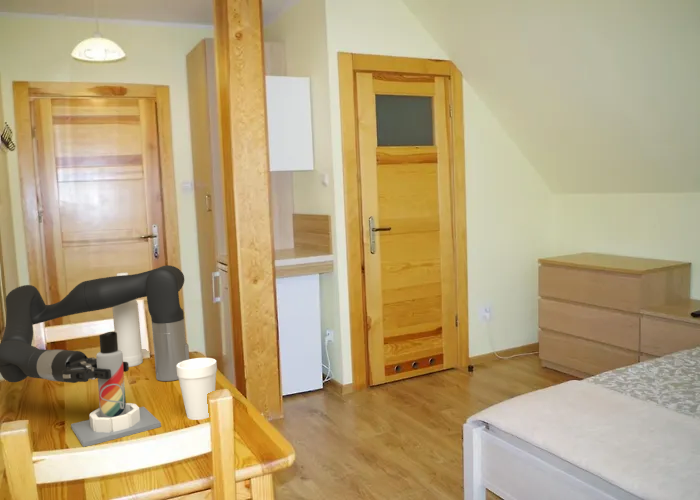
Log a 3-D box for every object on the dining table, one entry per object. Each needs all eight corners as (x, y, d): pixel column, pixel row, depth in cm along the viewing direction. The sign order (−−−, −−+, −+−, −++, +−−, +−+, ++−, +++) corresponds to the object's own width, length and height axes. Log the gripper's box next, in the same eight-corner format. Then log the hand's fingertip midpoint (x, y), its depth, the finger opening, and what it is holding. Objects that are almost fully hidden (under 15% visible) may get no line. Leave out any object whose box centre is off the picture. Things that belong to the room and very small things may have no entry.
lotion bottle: (117, 420, 138) (111, 335, 136) (95, 419, 139) (89, 334, 137) (131, 411, 143) (126, 329, 141) (109, 410, 144) (104, 329, 143)
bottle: (116, 363, 197) (108, 273, 194) (141, 359, 201) (133, 270, 198) (118, 369, 190) (110, 275, 187) (144, 364, 194) (136, 273, 191)
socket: (143, 410, 152) (142, 395, 151) (161, 426, 140) (159, 410, 140) (71, 428, 142) (69, 411, 142) (83, 447, 131) (81, 429, 130)
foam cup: (184, 409, 151) (181, 359, 150) (222, 406, 152) (218, 356, 151) (177, 423, 142) (173, 370, 140) (217, 420, 143) (213, 367, 141)
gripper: (86, 371, 152) (140, 376, 146) (39, 390, 139) (97, 396, 133) (83, 343, 151) (138, 346, 145) (36, 358, 138) (94, 363, 132)
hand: (118, 370), depth 139 cm, fingers closed on lotion bottle, 5 cm apart
